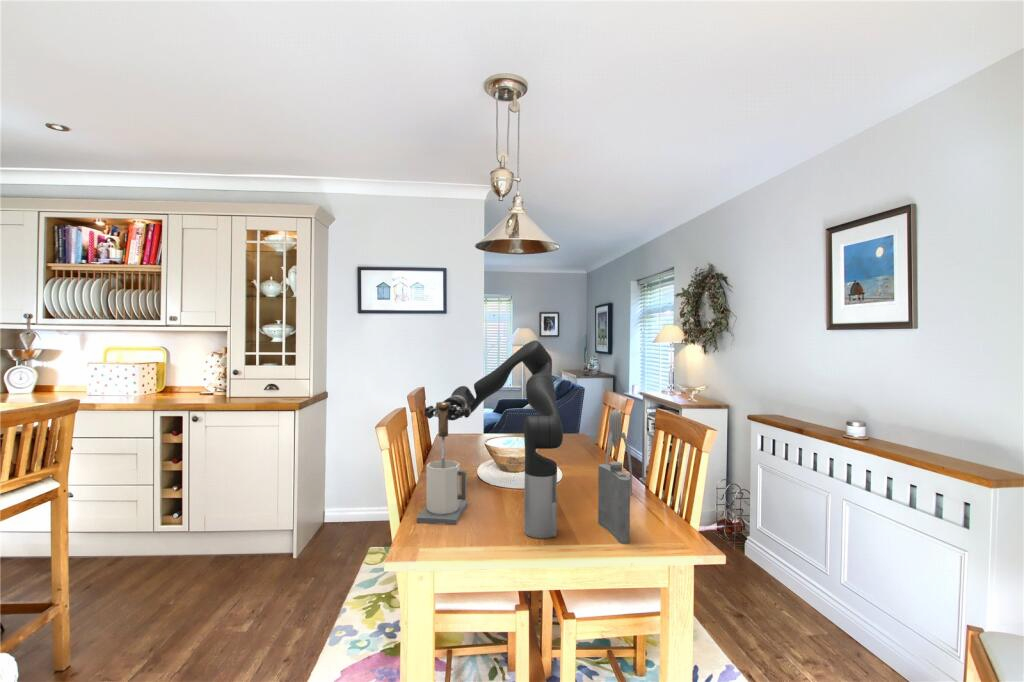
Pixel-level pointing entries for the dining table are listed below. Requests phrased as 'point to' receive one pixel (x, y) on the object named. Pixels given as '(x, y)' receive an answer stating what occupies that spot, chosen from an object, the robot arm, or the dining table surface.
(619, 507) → the hip flask
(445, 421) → the plunger
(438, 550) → the dining table surface
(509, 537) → the dining table surface
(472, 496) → the dining table surface
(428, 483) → the coffee press
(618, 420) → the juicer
